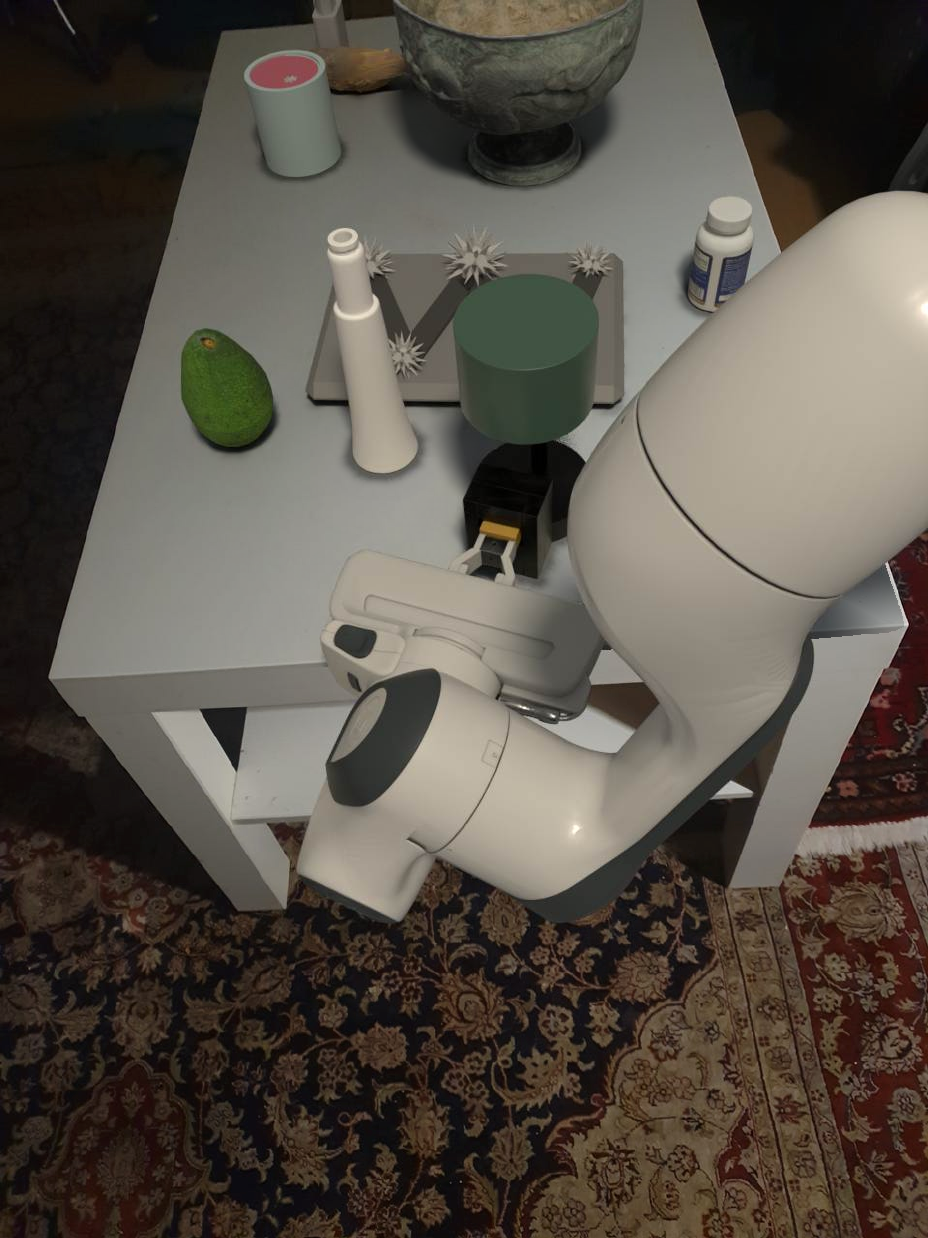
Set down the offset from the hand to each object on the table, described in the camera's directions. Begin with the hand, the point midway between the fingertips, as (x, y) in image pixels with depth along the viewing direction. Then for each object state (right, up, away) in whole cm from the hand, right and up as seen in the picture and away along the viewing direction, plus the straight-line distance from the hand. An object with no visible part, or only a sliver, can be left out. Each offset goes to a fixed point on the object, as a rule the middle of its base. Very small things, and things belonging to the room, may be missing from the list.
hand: (498, 541), depth 72 cm
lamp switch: (0, +1, +1) cm, 1 cm away
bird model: (-15, +63, +48) cm, 81 cm away
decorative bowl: (+4, +49, +38) cm, 62 cm away
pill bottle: (+23, +26, +21) cm, 41 cm away
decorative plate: (-2, +22, +21) cm, 31 cm away
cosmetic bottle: (-10, +9, +13) cm, 19 cm away
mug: (-22, +53, +42) cm, 71 cm away
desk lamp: (+3, +3, +8) cm, 9 cm away
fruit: (-24, +11, +15) cm, 30 cm away
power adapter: (-20, +68, +52) cm, 88 cm away
